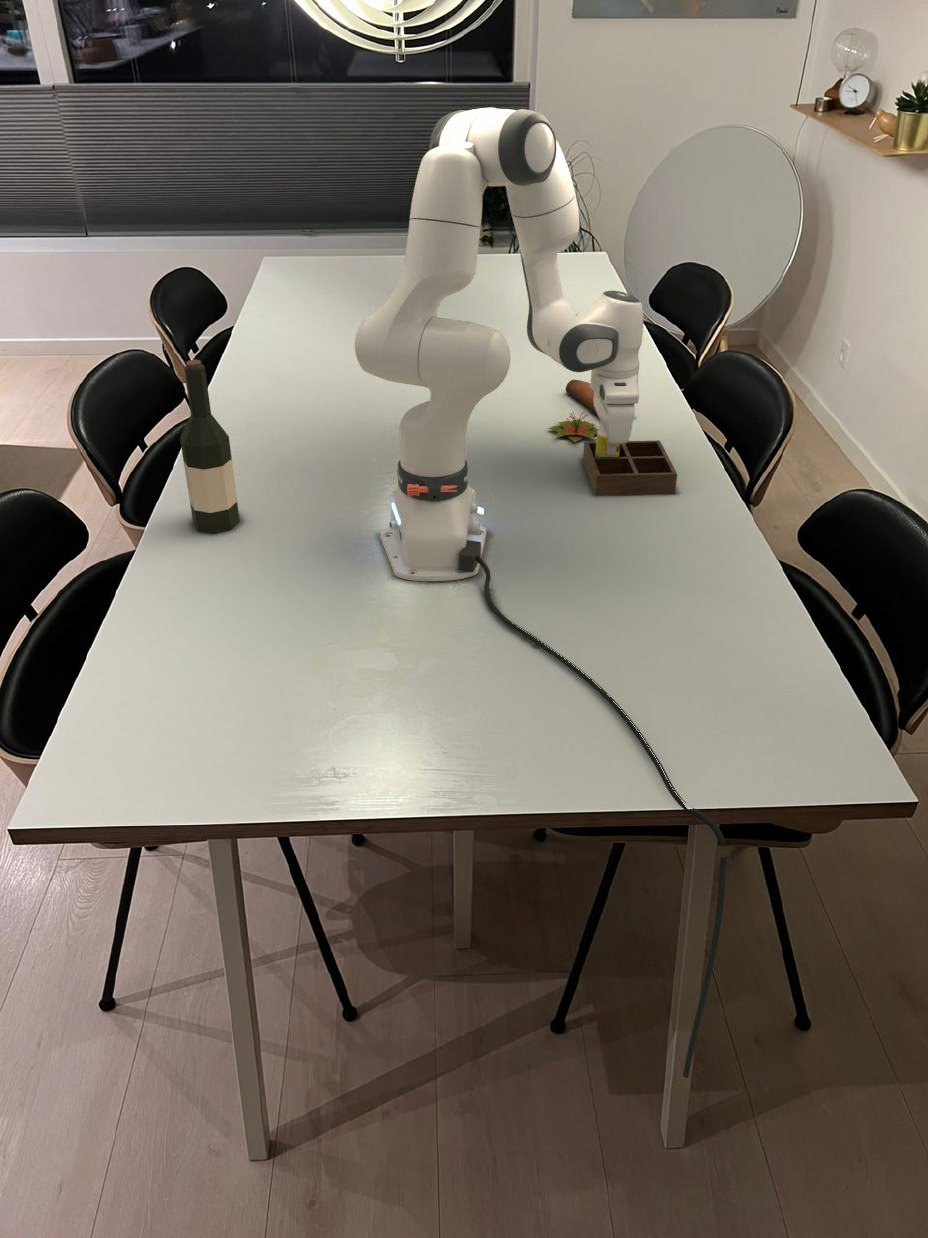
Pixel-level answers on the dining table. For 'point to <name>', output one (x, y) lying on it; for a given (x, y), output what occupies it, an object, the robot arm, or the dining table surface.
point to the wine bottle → (207, 460)
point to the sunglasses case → (582, 393)
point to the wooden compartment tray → (631, 469)
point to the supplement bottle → (604, 444)
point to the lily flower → (575, 429)
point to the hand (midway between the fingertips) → (607, 446)
